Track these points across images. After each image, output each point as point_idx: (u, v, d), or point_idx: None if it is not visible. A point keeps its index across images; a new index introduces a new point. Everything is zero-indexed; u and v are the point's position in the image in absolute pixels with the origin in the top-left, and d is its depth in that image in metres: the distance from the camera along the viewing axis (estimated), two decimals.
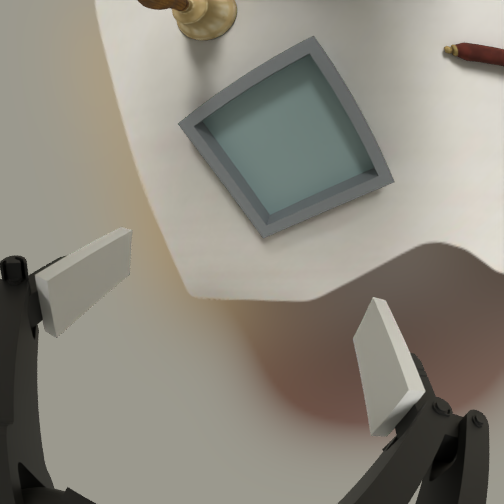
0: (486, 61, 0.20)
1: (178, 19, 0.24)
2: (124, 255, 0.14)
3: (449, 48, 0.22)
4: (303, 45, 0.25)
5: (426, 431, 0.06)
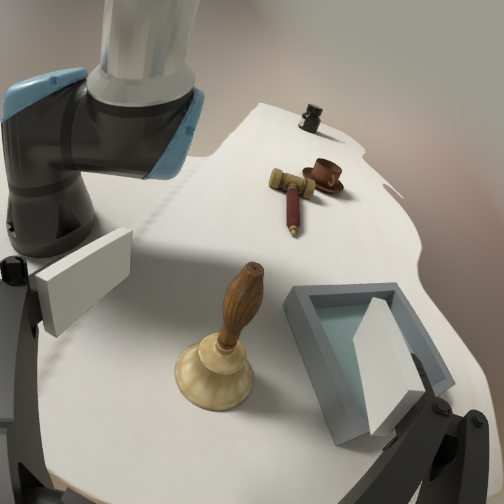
0: (299, 213, 0.56)
1: (232, 368, 0.24)
2: (124, 255, 0.14)
3: (293, 230, 0.52)
4: (299, 296, 0.35)
5: (426, 431, 0.06)
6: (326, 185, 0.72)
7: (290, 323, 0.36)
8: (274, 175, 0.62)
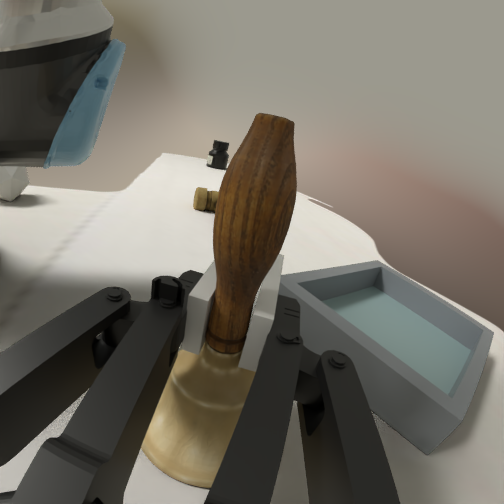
0: None
1: None
2: None
3: None
4: (286, 285, 0.25)
5: (277, 364, 0.08)
6: None
7: None
8: (198, 193, 0.53)
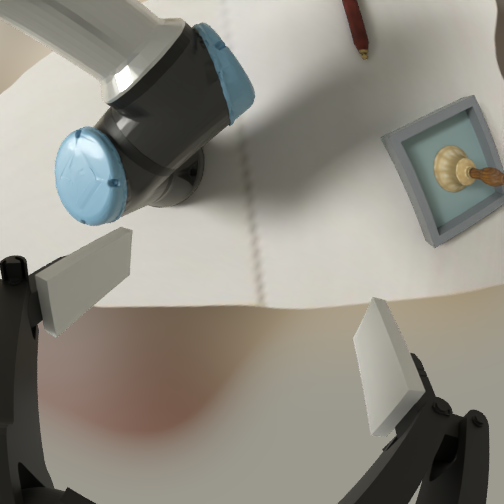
0: None
1: (473, 181, 0.34)
2: (124, 255, 0.14)
3: (364, 55, 0.36)
4: (394, 145, 0.38)
5: (426, 431, 0.06)
6: None
7: (390, 155, 0.41)
8: None
